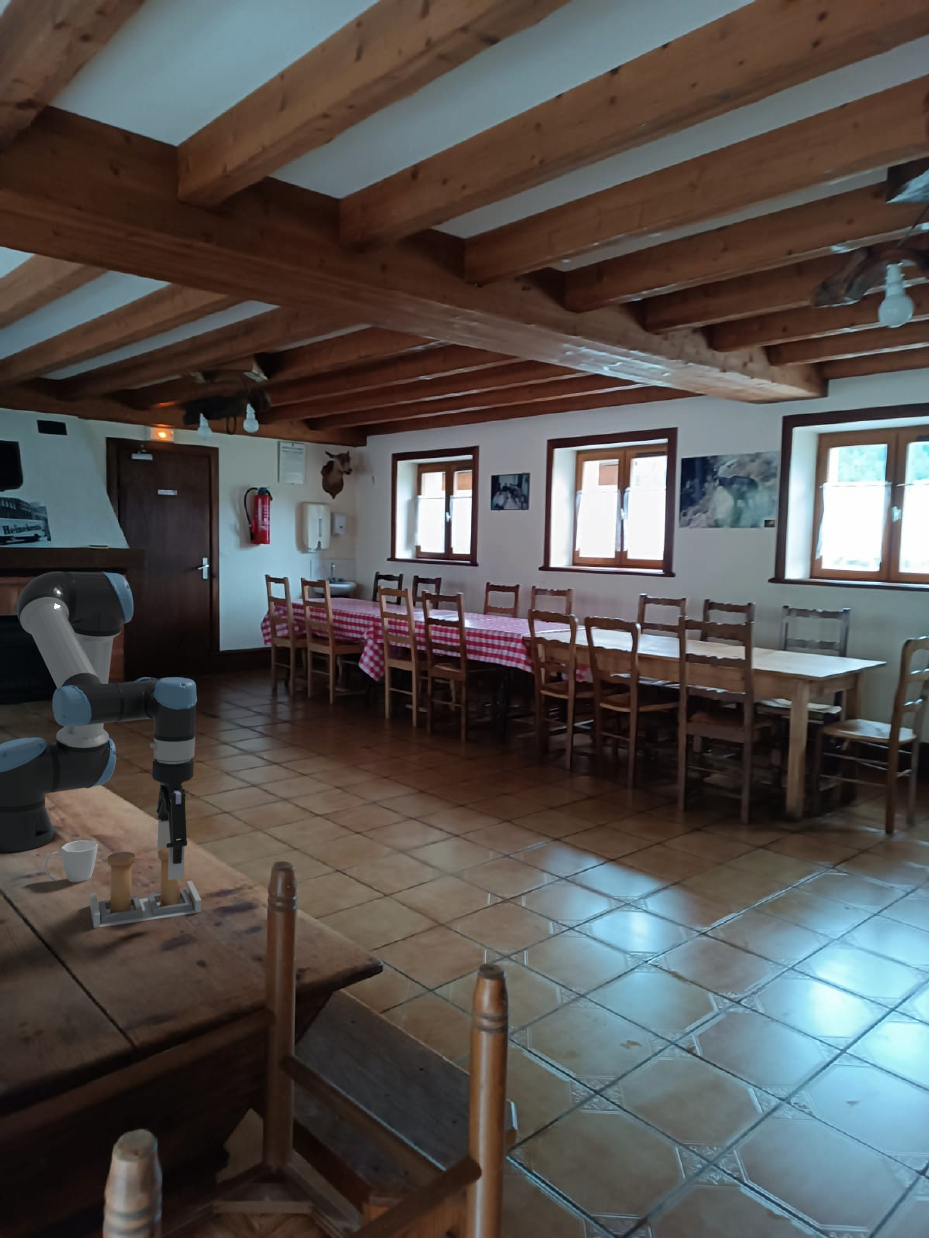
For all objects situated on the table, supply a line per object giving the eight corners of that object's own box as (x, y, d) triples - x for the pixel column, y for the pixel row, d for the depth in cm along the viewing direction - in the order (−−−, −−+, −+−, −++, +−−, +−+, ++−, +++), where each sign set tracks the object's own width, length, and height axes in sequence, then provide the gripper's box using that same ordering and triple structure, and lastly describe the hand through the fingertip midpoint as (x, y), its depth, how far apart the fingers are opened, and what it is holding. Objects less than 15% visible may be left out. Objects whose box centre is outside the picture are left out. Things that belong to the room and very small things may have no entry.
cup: (97, 888, 175) (98, 850, 175) (43, 893, 171) (43, 854, 171) (97, 875, 182) (98, 838, 181) (45, 880, 178) (45, 842, 177)
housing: (89, 911, 164) (90, 893, 164) (191, 897, 173) (191, 880, 173) (93, 934, 156) (94, 915, 155) (200, 917, 164) (201, 899, 164)
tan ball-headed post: (180, 898, 170) (182, 845, 169) (184, 908, 165) (186, 853, 164) (155, 902, 167) (156, 848, 166) (158, 912, 163) (160, 856, 162)
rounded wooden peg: (105, 909, 163) (106, 853, 162) (132, 905, 166) (133, 850, 165) (107, 919, 159) (109, 862, 158) (135, 915, 161) (136, 859, 160)
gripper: (144, 743, 173) (141, 843, 175) (162, 778, 151) (158, 893, 153) (182, 741, 177) (179, 840, 179) (206, 775, 155) (201, 887, 157)
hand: (169, 864), depth 166 cm, fingers open, 13 cm apart
